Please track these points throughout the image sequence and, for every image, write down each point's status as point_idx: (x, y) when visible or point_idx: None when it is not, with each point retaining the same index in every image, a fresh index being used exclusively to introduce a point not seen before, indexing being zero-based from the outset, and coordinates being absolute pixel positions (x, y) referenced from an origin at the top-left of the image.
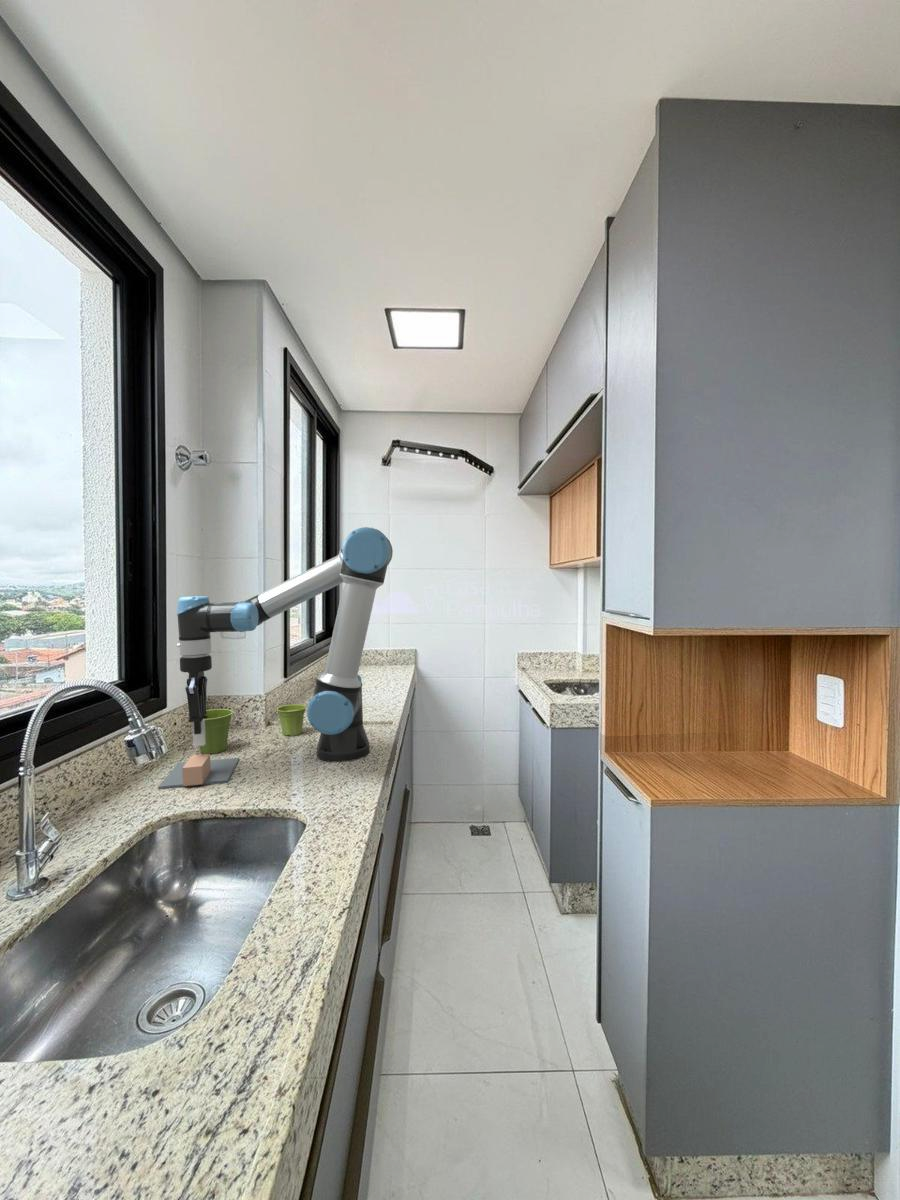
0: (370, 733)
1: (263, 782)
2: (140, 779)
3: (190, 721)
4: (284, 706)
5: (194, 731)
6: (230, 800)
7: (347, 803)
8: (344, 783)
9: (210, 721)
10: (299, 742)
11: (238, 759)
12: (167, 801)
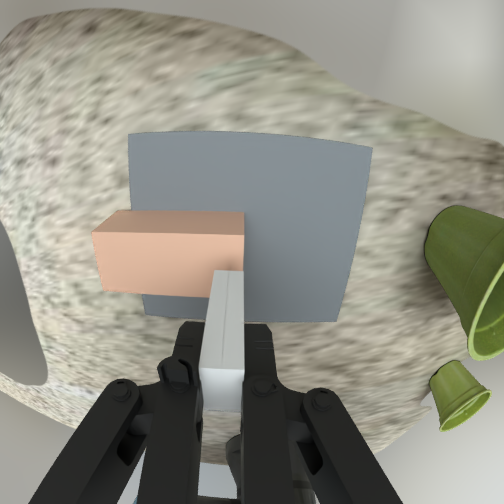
0: None
1: (141, 368)
2: (254, 46)
3: (164, 368)
4: (489, 395)
5: (178, 333)
6: (57, 318)
7: (74, 418)
8: None
9: (475, 304)
10: (383, 396)
11: (323, 321)
12: (49, 193)
